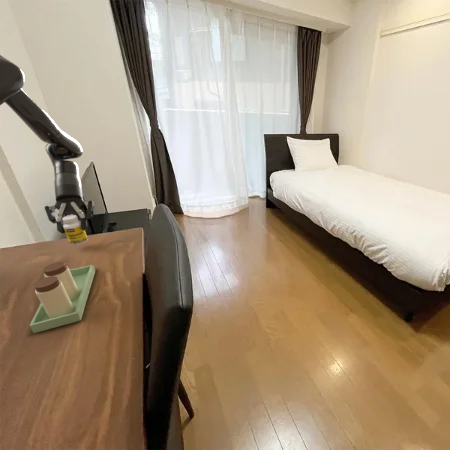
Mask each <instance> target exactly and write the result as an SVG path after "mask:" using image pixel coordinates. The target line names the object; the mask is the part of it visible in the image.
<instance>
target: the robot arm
mask: <svg viewBox="0 0 450 450" xmlns="http://www.w3.org/2000/svg"><path fill="white" fill-rule="evenodd" d="M25 82H26V76H25V74H24V72H23V70H22V68H20V67H19V66H18V65H17V64H16V63H14V62H13V61H11V60H9V59H7V58H6V57H4V56H3V55H1V54H0V106H1V105H4V103H5V104H6V105H7V106H8V107H9V108H10V109H11V110H12V112H14V113H15V114H16V115H17V117H18V118H19V119H21V121H22V122H23V123H24V124H25V125H26V126H27V127H28V129H30V130H31V131H32V132H33V134H34V135H35V136H37V138H38V139H39V140H40V141H41V142H44V143H46V144H45V146H44V147H45V152H46V154H47V156H48V158H49V160H50V162H51V165H52V167H53V173H54V174H53V175H54V179H53V180H54V182H53V185H54V195H55V203H54V205H51V206H48V205H45V206H44V211H45V213H46V215H47V216H46V217H47V218H48V221H49V222H51V223H52V224H56V229H57V232H58V233H60V234H61V235H63V234H64V235H65V231H64V229H63V224H64V222H63V219H62V218H63V217H66V216H69V215H78V216H79V217H80V219H79V221H81V229H82V230H85V231H86V230H87V229H88V220H89V219H93V218H94V212H95V203H94V201H93V200H88V201H85V200H84V194H83V185H82V181H81V178H80V168H79V165H78V163H77V162H75V161H72V159H73V160H74V159H79V158H81V157H82V155H83V154H84V150H83V147H82V145H81V144H80V143H79V142H78V141H77V139H75V138H74V137H72V136H71V135H69V134H68V133H67V132H65V131H64V130H62V129H61V127H60V126H59V125H58V124H57V123H56V122H55V121H54V119H53V118H52V117H51V116H50V115H49V114H48V113H47V112H46V111H45V110H44V109H43V108H42V107H41V106H40V105H39V104H38V103H36V102H35V101H34V99H32V98H31V97H30V96H29V95H28V94H27V93H26V92H25V90H24V89H23V87H24V85H25ZM85 207H86V208H87V209H86V214H85V213H84V212H83V209H84V208H85ZM56 210H58V212H57V216H56V217H55V212H56Z"/></svg>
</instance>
